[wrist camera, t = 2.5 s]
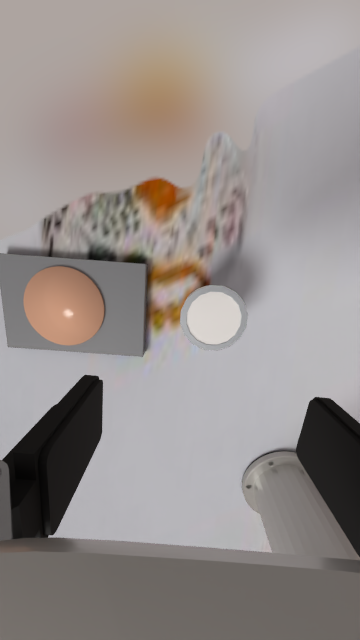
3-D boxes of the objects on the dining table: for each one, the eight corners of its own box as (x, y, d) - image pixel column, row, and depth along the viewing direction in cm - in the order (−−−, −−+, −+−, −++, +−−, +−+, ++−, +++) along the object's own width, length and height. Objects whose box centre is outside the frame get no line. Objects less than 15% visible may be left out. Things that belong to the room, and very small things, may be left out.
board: (147, 264, 26) (145, 264, 25) (144, 352, 29) (142, 356, 28) (6, 254, 26) (-4, 253, 25) (16, 343, 29) (7, 347, 28)
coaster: (104, 269, 25) (103, 269, 25) (105, 346, 27) (104, 348, 27) (21, 263, 25) (19, 263, 25) (29, 341, 27) (27, 342, 27)
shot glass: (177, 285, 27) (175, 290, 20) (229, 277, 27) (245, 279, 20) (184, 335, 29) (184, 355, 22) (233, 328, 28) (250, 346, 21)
